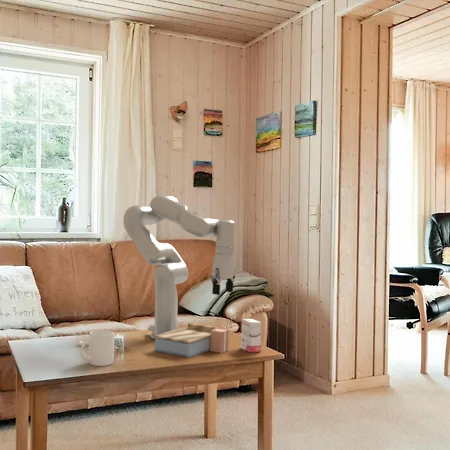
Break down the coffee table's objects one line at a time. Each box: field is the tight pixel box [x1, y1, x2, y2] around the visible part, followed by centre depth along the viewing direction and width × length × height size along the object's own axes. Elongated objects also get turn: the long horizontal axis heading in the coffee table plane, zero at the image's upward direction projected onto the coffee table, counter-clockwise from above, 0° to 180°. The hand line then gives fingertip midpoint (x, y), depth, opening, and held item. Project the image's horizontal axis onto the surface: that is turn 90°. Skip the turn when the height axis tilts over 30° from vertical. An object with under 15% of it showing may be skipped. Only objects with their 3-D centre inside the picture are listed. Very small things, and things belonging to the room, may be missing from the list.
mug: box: [80, 329, 115, 367], centre depth 203 cm, size 9×12×11 cm
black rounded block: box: [77, 335, 89, 349], centre depth 230 cm, size 9×8×4 cm
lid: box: [154, 322, 216, 344], centre depth 228 cm, size 17×21×3 cm
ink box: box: [240, 318, 262, 354], centre depth 230 cm, size 9×5×12 cm, turn 24°
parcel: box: [210, 328, 230, 354], centre depth 227 cm, size 5×5×8 cm
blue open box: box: [154, 337, 211, 358], centre depth 228 cm, size 16×20×5 cm
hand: (222, 293), depth 236 cm, fingers open, 9 cm apart
